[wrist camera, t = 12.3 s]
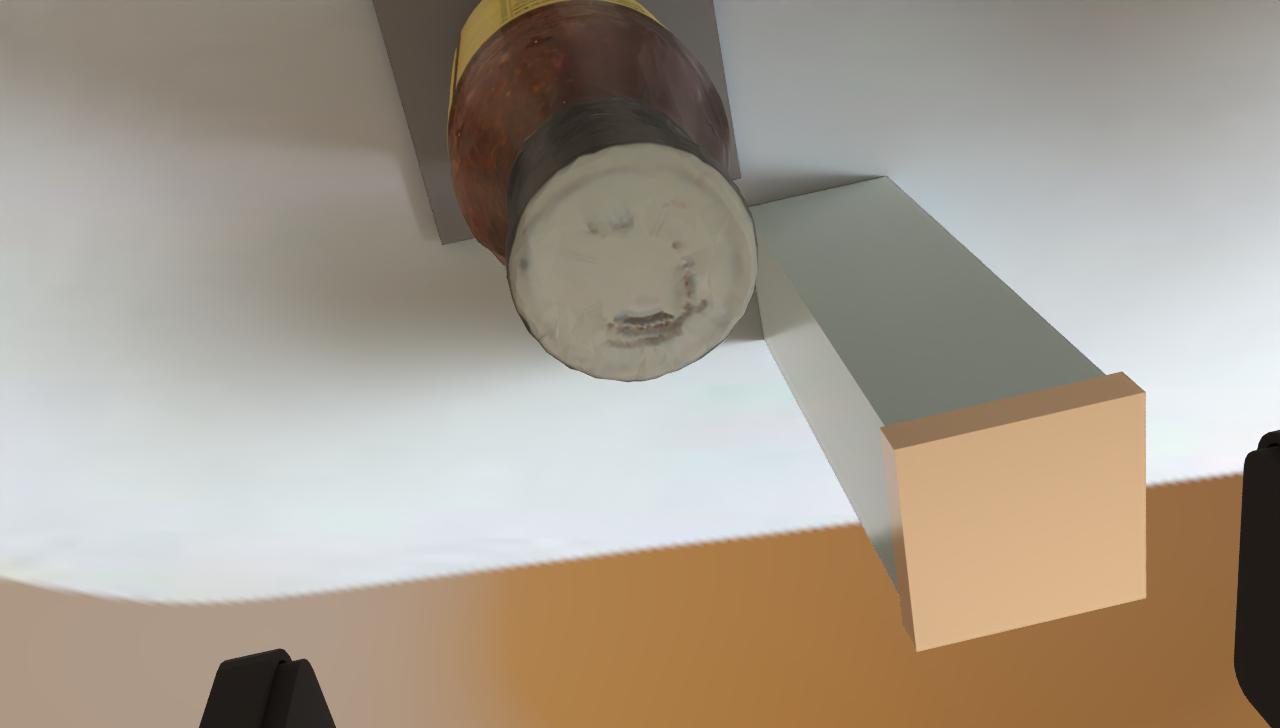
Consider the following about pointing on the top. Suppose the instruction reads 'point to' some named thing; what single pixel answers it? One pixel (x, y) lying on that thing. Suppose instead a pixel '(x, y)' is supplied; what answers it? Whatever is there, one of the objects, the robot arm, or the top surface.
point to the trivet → (422, 65)
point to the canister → (953, 417)
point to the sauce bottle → (600, 183)
